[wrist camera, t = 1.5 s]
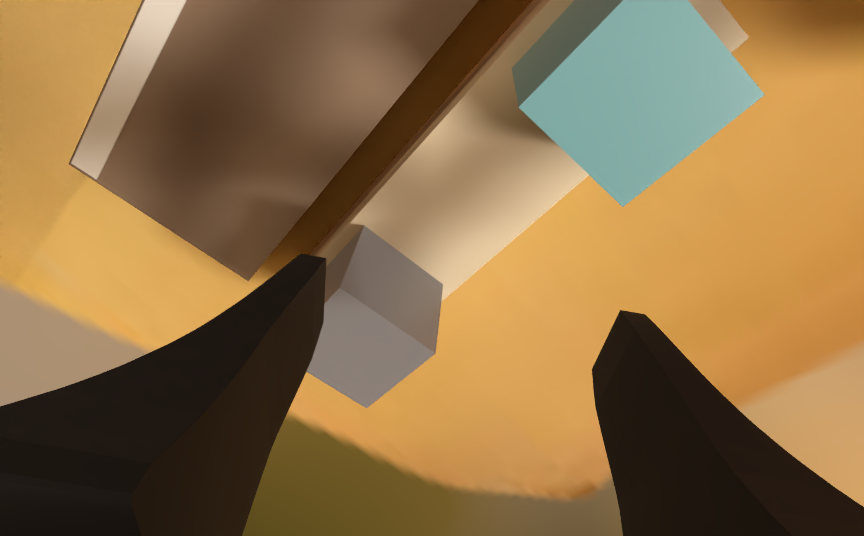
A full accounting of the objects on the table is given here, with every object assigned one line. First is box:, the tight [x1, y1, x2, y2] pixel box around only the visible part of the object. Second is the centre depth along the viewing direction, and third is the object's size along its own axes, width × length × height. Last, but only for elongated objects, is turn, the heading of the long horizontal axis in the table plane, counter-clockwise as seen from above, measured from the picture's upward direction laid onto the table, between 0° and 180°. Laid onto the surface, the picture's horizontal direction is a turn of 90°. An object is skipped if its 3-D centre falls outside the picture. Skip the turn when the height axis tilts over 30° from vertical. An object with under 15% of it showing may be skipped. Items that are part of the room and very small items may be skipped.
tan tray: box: [309, 0, 749, 302], centre depth 19 cm, size 5×18×3 cm, turn 139°
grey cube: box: [306, 226, 443, 408], centre depth 19 cm, size 4×4×4 cm
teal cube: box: [512, 0, 765, 207], centre depth 14 cm, size 4×4×4 cm
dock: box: [69, 0, 479, 281], centre depth 17 cm, size 8×20×2 cm, turn 139°
